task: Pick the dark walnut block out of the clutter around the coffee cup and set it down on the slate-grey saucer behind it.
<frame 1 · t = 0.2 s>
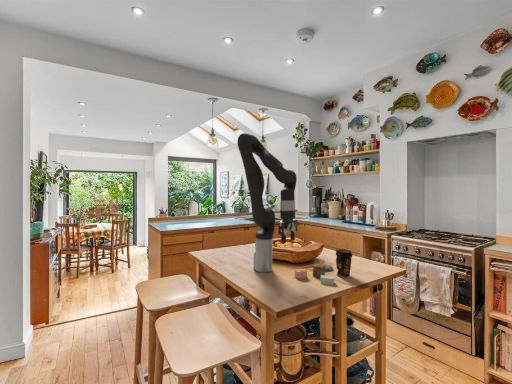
hand: (288, 241, 136), 17 cm above the kitchen island, tool pointing down, fingers open, 8 cm apart
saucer: (324, 268, 149), on the kitchen island
small brown block: (300, 277, 134), on the kitchen island
coffee cup: (342, 275, 138), on the kitchen island
sage block: (327, 283, 128), on the kitchen island
walnut block: (318, 276, 137), on the kitchen island
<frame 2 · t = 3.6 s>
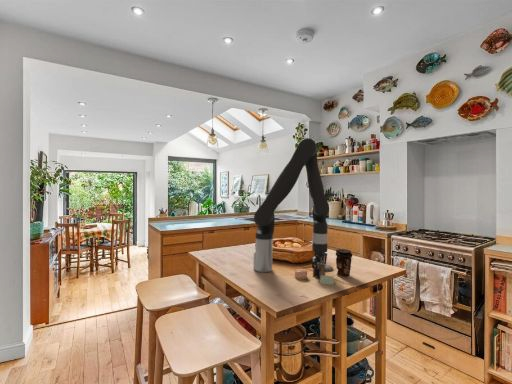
hand: (319, 274, 137), 1 cm above the kitchen island, tool pointing down, fingers closed on walnut block, 4 cm apart
walnut block: (319, 276, 137), on the kitchen island, touching gripper
everything else where it was.
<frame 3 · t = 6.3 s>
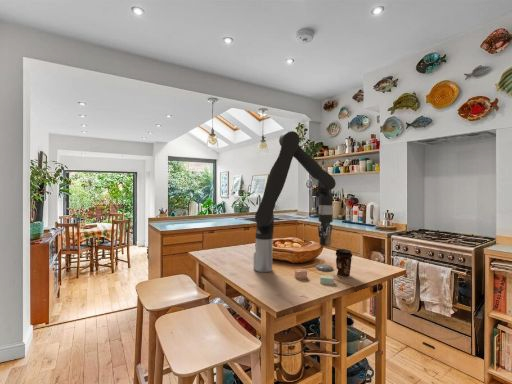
hand: (325, 244, 148), 14 cm above the kitchen island, tool pointing down, fingers closed on walnut block, 4 cm apart
walnut block: (325, 245, 148), point 13 cm above the kitchen island, touching gripper
everything else where it was.
when the fingers open (3 cm above the kitchen island, at t = 8.9 s): walnut block drops 1 cm, resting on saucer.
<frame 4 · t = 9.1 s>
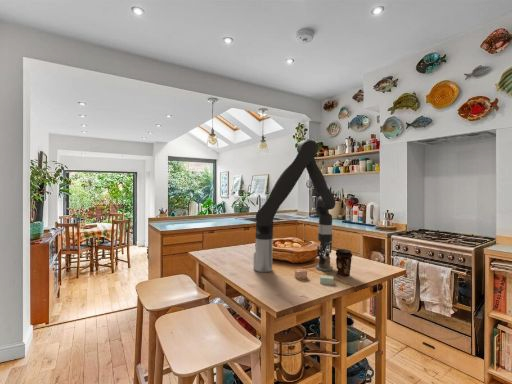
hand: (324, 262, 149), 3 cm above the kitchen island, tool pointing down, fingers open, 6 cm apart
walnut block: (324, 266, 149), point 1 cm above the kitchen island, touching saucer
everything else where it was.
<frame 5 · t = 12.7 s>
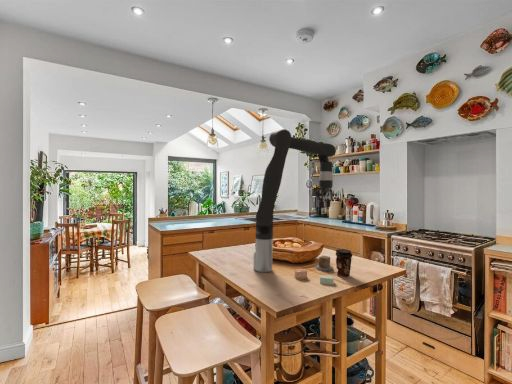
hand: (325, 207, 156), 33 cm above the kitchen island, tool pointing down, fingers open, 8 cm apart
nothing on the kitchen island moved.
at the end: walnut block inside the target area on the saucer (0.1 cm from its centre), point 1.0 cm above the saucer's base; walnut block tilted 0°; the gripper is holding nothing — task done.
